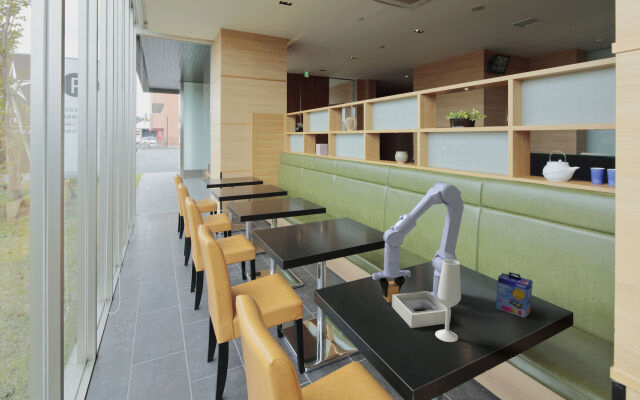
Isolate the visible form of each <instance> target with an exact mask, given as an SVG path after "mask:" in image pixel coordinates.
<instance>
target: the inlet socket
mask: <svg viewBox="0 0 640 400" xmlns="http://www.w3.org/2000/svg"><path fill="white" fill-rule="evenodd" d="M401 302H402V303H403V304H404V305H405V306H406V307H407V308H408V309H409V310H410V311H411V312H412V313H413V314H414V313H422V312H430V311H439V309H438V308H436V307H435V306H434V305H433V304H432V303H431V302H429V301H428V300H427V299H426V298H424V299H416V300H407V301H401ZM417 310H420V311H417Z"/></svg>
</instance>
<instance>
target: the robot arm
mask: <svg viewBox="0 0 640 400" xmlns="http://www.w3.org/2000/svg"><path fill="white" fill-rule="evenodd" d="M461 194H462V191H460V189H459V188H458V187H456V185H453V184H448V183H445V182H443V181H438V182H435V183H434V184H433V186H432V187H430V188H429V189H428V190H427V192H426V194H425V195H424V196H423V198H421V200H420V201H419V202H418V203H417V204H416V205H415V207H414V208H413V209H412V210H411V211H410V212H409V213H406V214H405V213H404V214H403V215H400V216H399V219H398V220H397V222H395V224H393V225H391V226H390V228H389V229H386V230H385V231H384V233H383V235H382V240H383V241H384V251H383V252H384V254H383V255H384V256H383V257H384V258H383V260H384V261H383V270H382V271H378V272H374V273H372V275H371V276H372V279H373V280H374V281H377V280H378V282H379V284H380V286H381V290H382V294H383V295H384V297H387V290H388V284H389V282H390V281H388V279H394V280H393V281H394V282H395V283H396V284H397V285H398V286H399V293H401V289H402V286H403V285H404V284H405V283H406V278H405V277H408V278H410V277H411V271H410V270H408V269H407V270H406V269H405V270H404V269H400V268H401V267H400V265H401V264H400V263H401V246H402V245H403V243H404V238H405V237H407V236H408V234H409V233H411V231H412V230H413V229H414V228H415V227H416V226H417V221H418V219H420V217H421V216H422V215H424V214H425V213H426V212H427V211H428V210H429V209H430V208H431V207H432V206H435V205H441V204H443V205H444V206H445V207H446V209H447V211H446V214H445V221H444V226H443V231H442V235H441V236H442V237H441V241H440V247H439V248H438V249H437V250H436V251H435V255H434V257H433V258H432V260H431V266H432V267H433V269H434V271H433V283H432V285H433V286H432V291H428V292H429V293H431V294H432V295H433V296H434V297H435V298H437V299H438V300H439V298H438V296H437V294H438V288H439V281H440V275H441V269H442V263H443V260H445V259H453V260H457V261H458V259H457V255H456V253H455V252H456V248H457V247H456V246H457V242H458V237H459V233H460V228H461V223H462V218H463V212H464V207H465V205H464V203H463V200H462V196H461ZM460 284H461V285H462V282H461V280H460ZM383 295H382V296H383ZM384 297H383V298H384ZM439 301H440V300H439ZM440 302H441V301H440ZM441 303H442V302H441Z"/></svg>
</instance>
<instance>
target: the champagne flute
mask: <svg viewBox="0 0 640 400" xmlns="http://www.w3.org/2000/svg"><path fill="white" fill-rule="evenodd" d="M460 281H461V263H460V261H458V259H457V260H453V259H445V260H443V263H442V269H441V275H440V281H439V288H438V294H437V296H438V298H439V300H440V301H441V303H443V304H444V305H445V306H446V320H445V324H444V329H439V330H437V331H435V334H434V335H435V337H436V338H437V339H439V340H440V341H443V342H446V343H452V342H453V343H454V342H457V341H458V339H459V336H458V334H457V333H455V332H453V331H451V330H450V323H449V321H450V322H451V318H450V310H451V308H452V307H455V306H456V305H458V304H459V303H460V302H461V300H462V294H461V293H462V291H461V290H462V289H461V286H462V283H461V284H460Z"/></svg>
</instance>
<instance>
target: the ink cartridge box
mask: <svg viewBox="0 0 640 400" xmlns="http://www.w3.org/2000/svg"><path fill="white" fill-rule="evenodd" d="M533 283H534V281H533V280H532V279H529V278H525V277H522V276H521V274H520V273H515V272H512V271H511V272H510V271H508V273H504V272H503V273H501V274H500V275H498V277H497V286H496V295H495V296H496V297H495V309H497V310H500V311H503V312H506V313H508V314H512V315H515V316H518V317H520V318H522V319H523V318H526V317H527V316H529V314H530V313H531V312H530V311H531V303H532V302H531V300H532V293H533V285H534V284H533Z"/></svg>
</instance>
